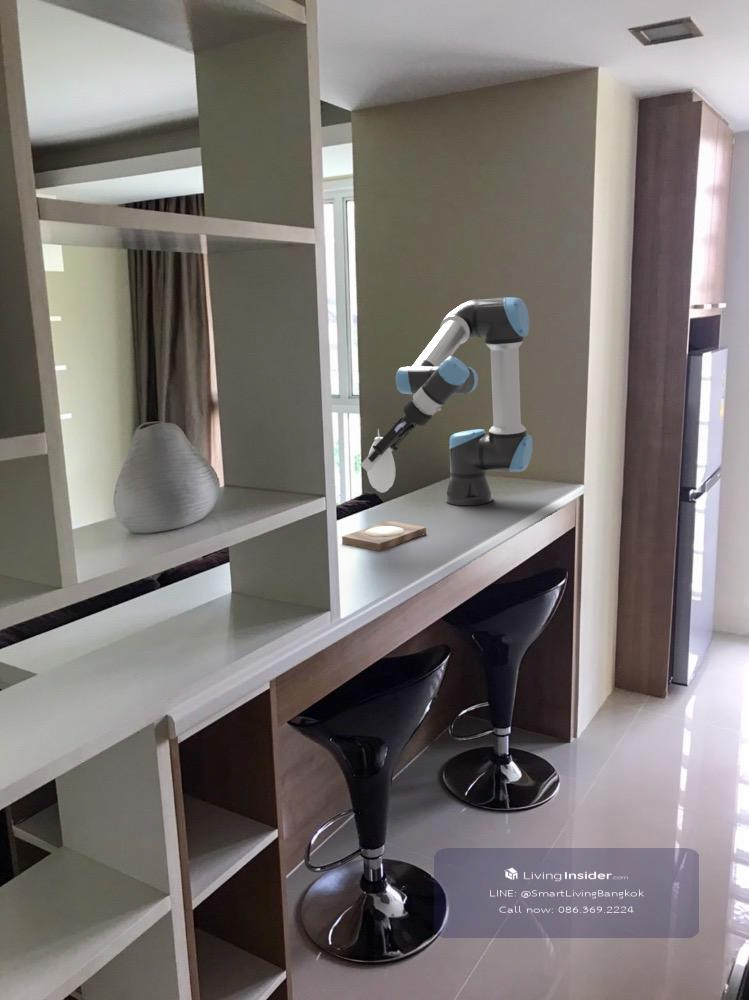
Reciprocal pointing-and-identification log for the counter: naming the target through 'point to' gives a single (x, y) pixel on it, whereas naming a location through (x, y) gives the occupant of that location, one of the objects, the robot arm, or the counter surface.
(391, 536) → the walnut board
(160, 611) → the counter surface
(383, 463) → the white pear with stem
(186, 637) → the counter surface
